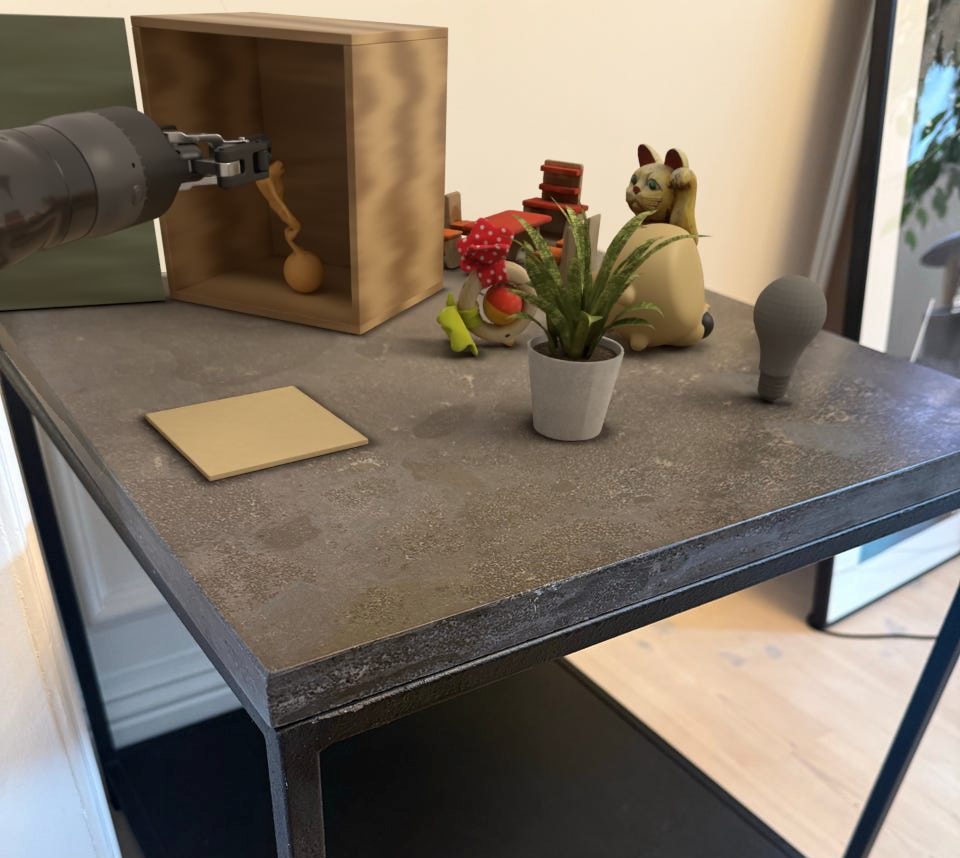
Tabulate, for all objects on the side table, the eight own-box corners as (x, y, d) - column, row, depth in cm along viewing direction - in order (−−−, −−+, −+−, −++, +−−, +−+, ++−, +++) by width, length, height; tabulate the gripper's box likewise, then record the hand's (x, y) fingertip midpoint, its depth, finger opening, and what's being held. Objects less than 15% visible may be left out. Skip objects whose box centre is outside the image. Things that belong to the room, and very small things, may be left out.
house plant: (678, 403, 77) (716, 186, 68) (676, 475, 66) (721, 226, 57) (506, 384, 79) (520, 169, 70) (476, 451, 68) (487, 206, 58)
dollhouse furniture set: (410, 265, 108) (410, 171, 103) (489, 235, 122) (493, 151, 116) (559, 295, 101) (568, 195, 96) (626, 260, 115) (638, 171, 109)
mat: (145, 419, 70) (144, 413, 70) (293, 390, 76) (292, 385, 76) (209, 481, 62) (209, 476, 62) (368, 444, 68) (368, 438, 68)
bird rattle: (494, 355, 91) (411, 322, 87) (547, 243, 86) (461, 201, 82) (516, 379, 86) (429, 345, 82) (573, 261, 81) (484, 218, 77)
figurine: (333, 303, 93) (326, 168, 86) (271, 306, 91) (259, 169, 84) (317, 279, 99) (310, 152, 92) (259, 282, 97) (247, 153, 90)
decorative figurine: (595, 295, 102) (612, 139, 93) (648, 285, 106) (670, 135, 97) (660, 319, 96) (685, 155, 87) (714, 308, 100) (743, 150, 91)
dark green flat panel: (-75, 294, 91) (-159, 4, 78) (157, 281, 98) (117, 13, 85) (-80, 315, 86) (-171, 8, 73) (165, 300, 93) (124, 18, 80)
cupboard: (360, 335, 88) (351, 34, 74) (169, 298, 94) (129, 15, 80) (442, 288, 101) (448, 27, 88) (271, 259, 108) (252, 11, 94)
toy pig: (671, 396, 88) (756, 313, 87) (611, 308, 80) (705, 214, 79) (616, 358, 95) (694, 280, 94) (556, 273, 87) (641, 186, 86)
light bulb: (815, 412, 77) (849, 285, 71) (753, 414, 76) (782, 286, 70) (784, 387, 82) (813, 266, 76) (724, 389, 80) (749, 267, 75)
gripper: (177, 120, 61) (294, 98, 74) (-5, 103, 65) (137, 84, 77) (193, 243, 66) (301, 201, 78) (22, 221, 69) (152, 185, 82)
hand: (220, 143), depth 78 cm, fingers open, 8 cm apart
